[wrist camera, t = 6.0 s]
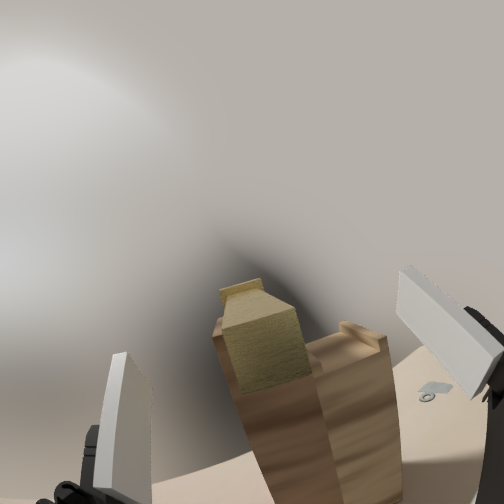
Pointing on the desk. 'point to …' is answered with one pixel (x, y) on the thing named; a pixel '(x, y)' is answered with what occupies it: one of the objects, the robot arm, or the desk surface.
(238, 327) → the golden wooden bar
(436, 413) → the desk surface
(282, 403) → the hinge block
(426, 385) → the mounting bracket
